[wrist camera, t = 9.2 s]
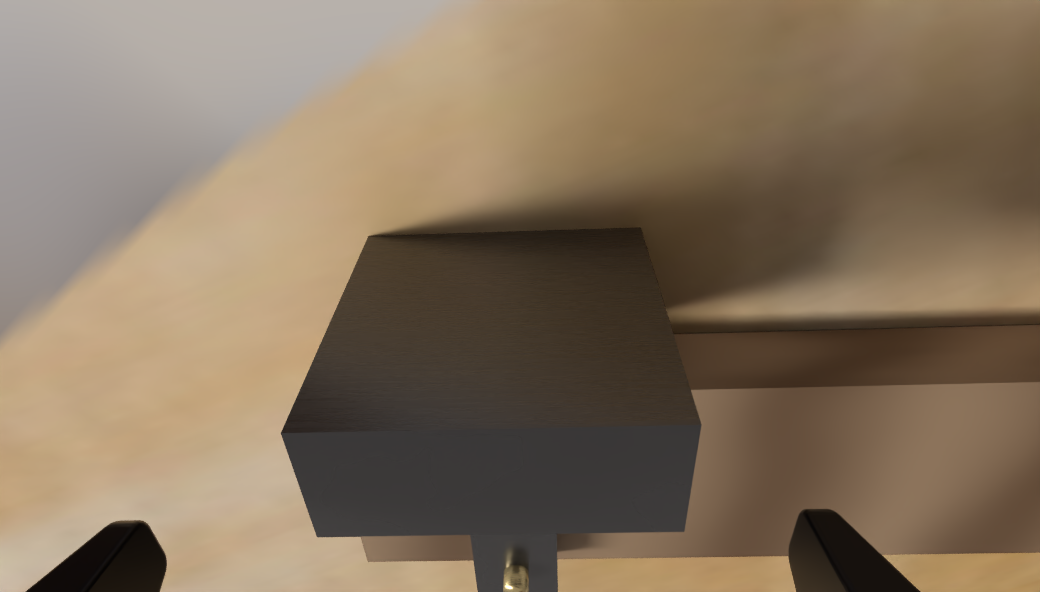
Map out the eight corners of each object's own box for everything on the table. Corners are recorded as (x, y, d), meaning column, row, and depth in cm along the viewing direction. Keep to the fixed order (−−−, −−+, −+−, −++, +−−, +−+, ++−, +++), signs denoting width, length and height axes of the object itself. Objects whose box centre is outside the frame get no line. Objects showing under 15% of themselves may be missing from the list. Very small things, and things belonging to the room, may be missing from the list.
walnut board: (1268, 318, 15) (1361, 375, 13) (1141, 488, 18) (1202, 551, 17) (343, 342, 16) (320, 398, 14) (382, 501, 19) (367, 562, 17)
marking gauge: (640, 227, 14) (701, 424, 9) (621, 488, 19) (655, 713, 14) (368, 235, 14) (281, 432, 9) (418, 491, 19) (378, 713, 14)
